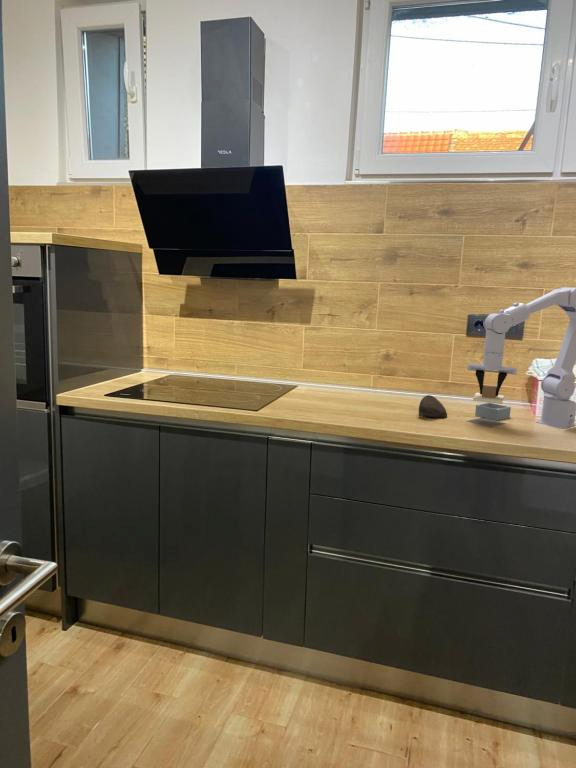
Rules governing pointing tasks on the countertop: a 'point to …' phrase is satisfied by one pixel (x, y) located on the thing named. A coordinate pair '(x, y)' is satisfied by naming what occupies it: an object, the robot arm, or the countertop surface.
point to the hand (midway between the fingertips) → (489, 394)
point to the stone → (431, 408)
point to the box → (492, 411)
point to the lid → (488, 395)
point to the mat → (486, 422)
